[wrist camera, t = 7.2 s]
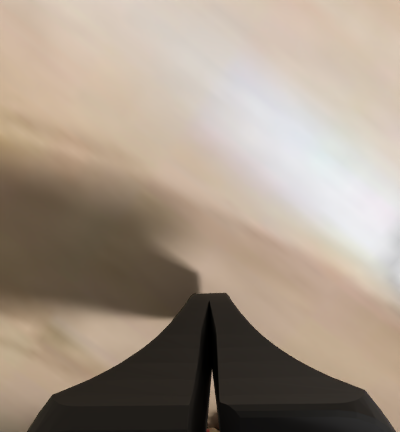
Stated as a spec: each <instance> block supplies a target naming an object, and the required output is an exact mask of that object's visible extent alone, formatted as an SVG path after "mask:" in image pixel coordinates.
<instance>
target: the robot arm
mask: <svg viewBox="0 0 400 432" xmlns="http://www.w3.org/2000/svg"><path fill="white" fill-rule="evenodd" d="M212 371H213V380H214V388H215V396H216V404H217V412H218V420H219V429H220V432H396V431H395V430H394V428H393V427H392V425H391V424H390V422H389V421H388V419H387V418H386V417H385V415H384V414H383V412H382V411H381V410H380V408H379V407H378V406H377V405H376V403H375V402H374V401H373V400H372V399H371V397H370V396H369V395H368V393H367V392H366V391H365V390H363V389H361V388H358V387H355V386H353V385H350V384H348V383H345V382H343V381H340V380H337V379H335V378H332V377H330V376H328V375H325V374H323V373H321V372H319V371H317V370H315V369H313V368H311V367H309V366H307V365H305V364H304V363H302V362H300V361H298V360H296V359H295V358H293V357H292V356H290V355H288V354H287V353H285V352H284V351H282V350H281V349H279V348H278V347H276V346H275V345H274V344H272V343H271V342H270V341H269V340H267V339H266V338H265V337H263V336H262V335H261V334H260V333H259V332H258V331H257V330H256V329H255V328H254V327H253V326H252V325H251V324H250V323H249V322H248V321H247V320H246V318H245V317H244V316H243V315H242V314H241V313H240V311H239V310H238V309H237V307H236V306H235V305H234V303H233V302H232V300H231V299H230V297H229V296H228V295H227V294H226V293H210V294H193V295H192V296H191V297H190V298H189V300H188V301H187V303H186V304H185V306H184V307H183V308H182V310H181V311H180V312H179V313H178V314H177V316H176V317H175V318H174V319H173V321H172V322H171V323H170V324H169V325H168V326H167V327H166V328H165V329H164V330H163V331H162V332H161V333H160V334H159V335H158V336H157V337H156V338H155V339H154V340H152V341H151V342H150V343H149V344H148V345H146V346H145V347H144V348H142V349H141V350H140V351H138V352H137V353H135V354H134V355H132V356H131V357H129V358H128V359H126V360H125V361H123V362H122V363H120V364H118V365H116V366H115V367H113V368H111V369H109V370H108V371H106V372H104V373H102V374H100V375H98V376H96V377H94V378H92V379H90V380H87V381H85V382H83V383H80V384H78V385H76V386H73V387H71V388H68V389H66V390H64V391H61V392H59V393H56V394H53V395H52V396H51V398H50V399H49V400H48V402H47V403H46V404H45V406H44V407H43V408H42V410H41V411H40V412H39V414H38V415H37V417H36V419H35V420H34V422H33V423H32V425H31V426H30V428H29V429H28V431H27V432H206V431H207V419H208V408H209V397H210V385H211V374H212Z"/></svg>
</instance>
